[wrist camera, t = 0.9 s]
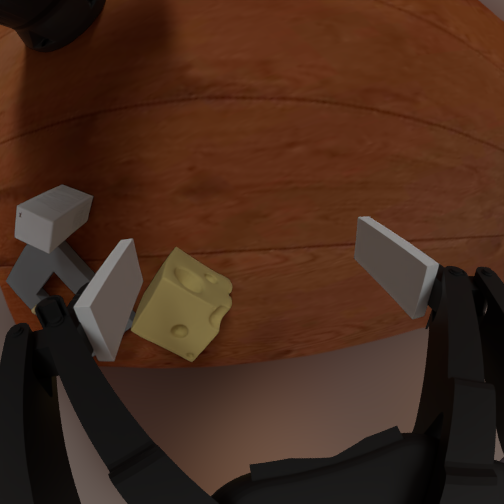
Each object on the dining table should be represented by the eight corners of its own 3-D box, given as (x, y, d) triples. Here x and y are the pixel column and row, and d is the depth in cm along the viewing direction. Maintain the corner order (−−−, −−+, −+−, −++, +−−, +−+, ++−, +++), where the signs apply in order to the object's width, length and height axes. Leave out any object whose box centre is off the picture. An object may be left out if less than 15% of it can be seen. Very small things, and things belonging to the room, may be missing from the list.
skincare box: (57, 209, 34) (13, 237, 23) (62, 183, 32) (15, 204, 22) (88, 222, 35) (49, 255, 25) (95, 195, 34) (53, 221, 23)
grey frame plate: (12, 274, 36) (1, 285, 33) (47, 219, 34) (34, 227, 30) (90, 352, 45) (84, 366, 41) (138, 315, 43) (132, 329, 39)
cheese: (231, 278, 42) (237, 317, 33) (194, 324, 45) (191, 367, 36) (173, 241, 39) (162, 274, 29) (139, 293, 41) (124, 333, 32)
